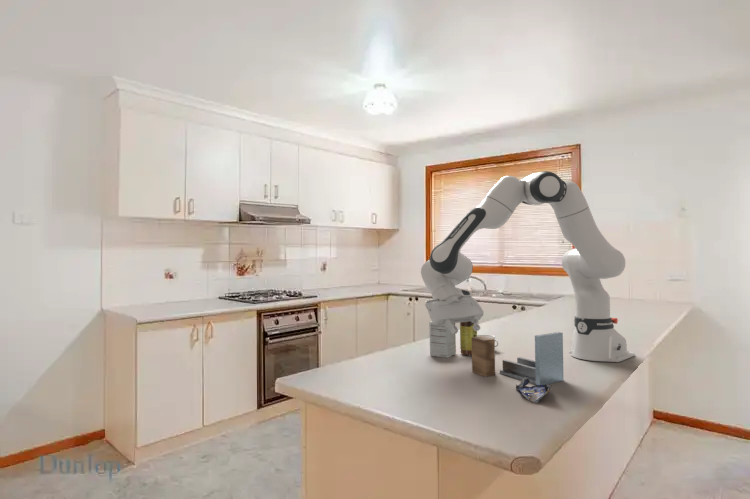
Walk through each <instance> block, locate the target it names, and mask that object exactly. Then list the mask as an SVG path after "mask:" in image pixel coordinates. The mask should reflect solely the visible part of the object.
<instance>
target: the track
mask: <svg viewBox="0 0 750 499" xmlns="http://www.w3.org/2000/svg"><path fill="white" fill-rule="evenodd" d="M534 358H535V359H534V360H532V359H528V358H525V357H521V356H519V357H517V358H516V361H517V362H515V361H512V360H507V359H502V369H500V370H499V374H500V375H503V376H505V377H509V378H514V379H516V380H520V381H522V379H523V378H524V377H525V376H528V377H529V379H528V380H529V381H530V383H529V384H532V385H534V386H535V385H550V384H555V383H559V382H563V381H564V379H565V378H564V336H563V332H560V331H556V332H550V333H543V334H542V333H541V334H536V335H534Z"/></svg>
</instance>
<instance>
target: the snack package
mask: <svg viewBox="0 0 750 499" xmlns="http://www.w3.org/2000/svg"><path fill="white" fill-rule="evenodd" d="M528 379H529V377H528V376H525V377H524V378H523V379H522V380H520V383H519V384H515V385H516V386H515V389H516V390H517V391H519V392H520V393H521V394H522V396H524V397H525V399H527V400H528V401H530V400H529V397H530V396H531V397H532V395H528V394H533V395H535V396H536V398H535V399H534V400H532V403H534V404H537V403H538V404H539V402H540V401H541V400H542V399H543V397H545V396H546V395H547V394H548V393H549V392H550V389H551V388H552V385H550V384H546V385H535V384H534V385H532V386H527V385H529V384H531V383H530V381H529V380H528ZM524 392H525V393H524ZM537 396H538V397H537ZM531 397H530V398H531Z"/></svg>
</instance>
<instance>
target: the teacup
mask: <svg viewBox="0 0 750 499" xmlns="http://www.w3.org/2000/svg"><path fill="white" fill-rule="evenodd" d="M479 336H483V337H487V338H492V339H495V342H496V344H495V348H497V347H498V346H499V341H498V340H497V339H496V336H495V335H493V334H486V333H485V334H482V333H481V334H480V333H479V334H478V333H477V337H479Z"/></svg>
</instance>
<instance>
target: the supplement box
mask: <svg viewBox="0 0 750 499" xmlns="http://www.w3.org/2000/svg"><path fill="white" fill-rule="evenodd" d="M428 322H429V355H430V356H432V357H437V358H445V359H446V358H447V359H448V358H450V357H452V356H454V355H456V353H457V349H456V348H457V346H456V344H457V342H456V338H457V337H456V334H452V332H451V331H450V330H449V329H448V328H446V327H445V326H444V324H442V325H435V324H434V323H433V322H432V321H431V320H430V321H428ZM451 324H452V325H453V326H454V327H455V326H456V323H451Z"/></svg>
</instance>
